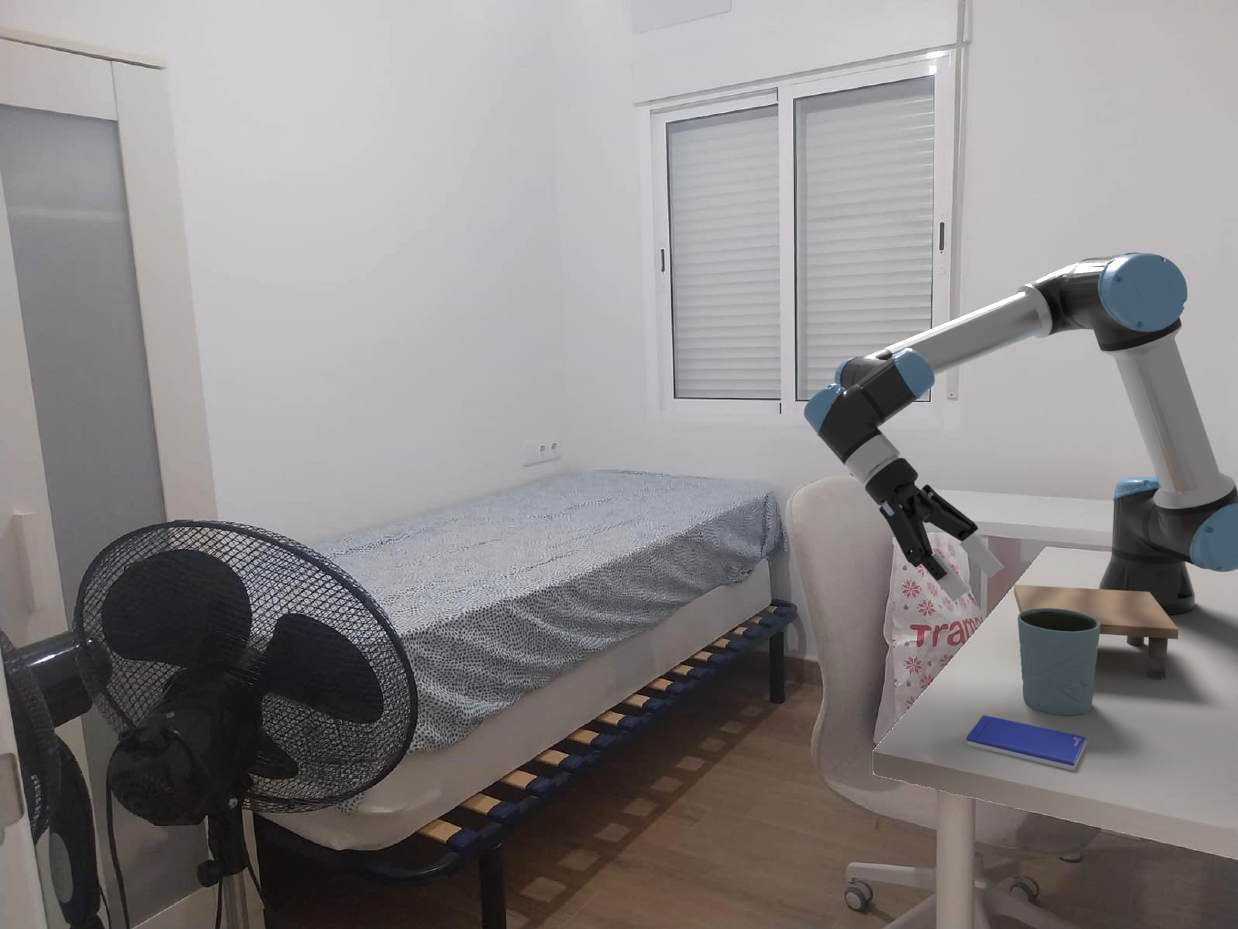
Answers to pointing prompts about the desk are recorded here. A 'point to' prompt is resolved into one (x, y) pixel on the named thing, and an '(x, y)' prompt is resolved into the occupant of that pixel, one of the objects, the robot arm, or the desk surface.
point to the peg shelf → (1111, 615)
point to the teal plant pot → (1058, 659)
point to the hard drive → (1027, 742)
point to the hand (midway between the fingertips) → (980, 584)
